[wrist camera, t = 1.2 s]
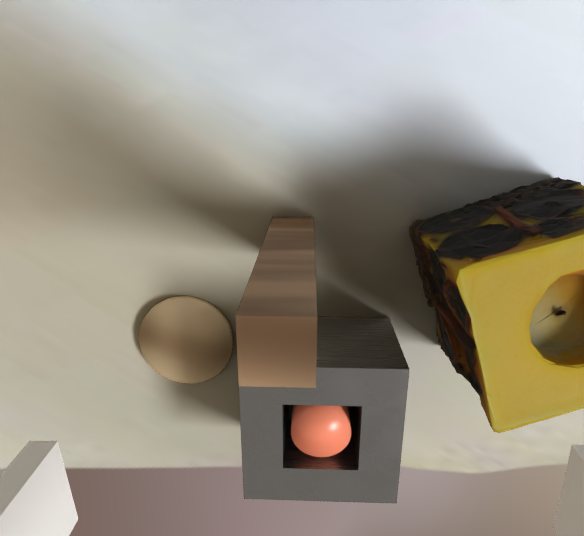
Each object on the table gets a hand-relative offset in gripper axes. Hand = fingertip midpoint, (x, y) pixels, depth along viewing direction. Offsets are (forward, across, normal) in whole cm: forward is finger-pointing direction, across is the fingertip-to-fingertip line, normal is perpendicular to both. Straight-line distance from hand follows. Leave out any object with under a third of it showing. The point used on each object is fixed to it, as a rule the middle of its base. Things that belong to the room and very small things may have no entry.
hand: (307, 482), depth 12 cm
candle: (+21, +13, -2) cm, 25 cm away
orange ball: (+18, 0, -10) cm, 21 cm away
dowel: (+21, -1, +1) cm, 21 cm away
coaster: (+20, -10, -7) cm, 23 cm away
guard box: (+20, 0, -10) cm, 23 cm away
